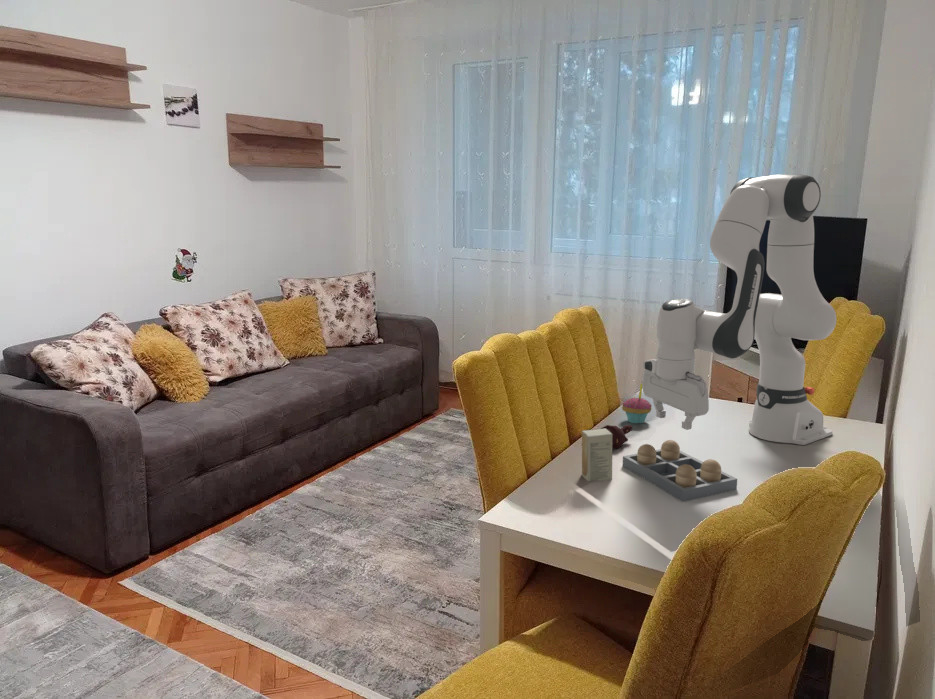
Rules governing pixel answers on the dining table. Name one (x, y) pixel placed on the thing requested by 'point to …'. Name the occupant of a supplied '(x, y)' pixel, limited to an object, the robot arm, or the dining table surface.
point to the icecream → (618, 435)
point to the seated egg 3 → (710, 471)
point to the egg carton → (665, 476)
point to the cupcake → (636, 408)
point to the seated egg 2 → (686, 476)
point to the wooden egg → (670, 450)
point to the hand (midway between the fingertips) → (673, 422)
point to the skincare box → (597, 454)
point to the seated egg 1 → (646, 454)
